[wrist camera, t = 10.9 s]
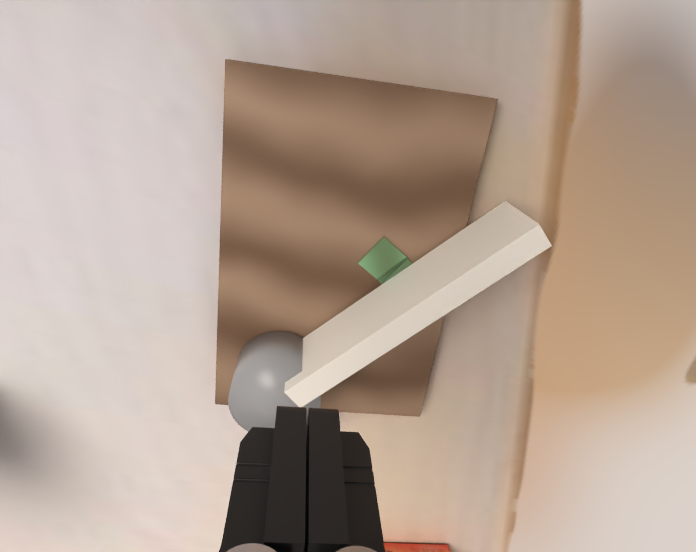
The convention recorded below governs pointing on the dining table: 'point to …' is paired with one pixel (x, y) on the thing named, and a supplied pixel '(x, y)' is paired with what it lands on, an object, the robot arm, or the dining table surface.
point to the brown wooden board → (337, 211)
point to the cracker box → (415, 547)
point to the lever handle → (379, 318)
